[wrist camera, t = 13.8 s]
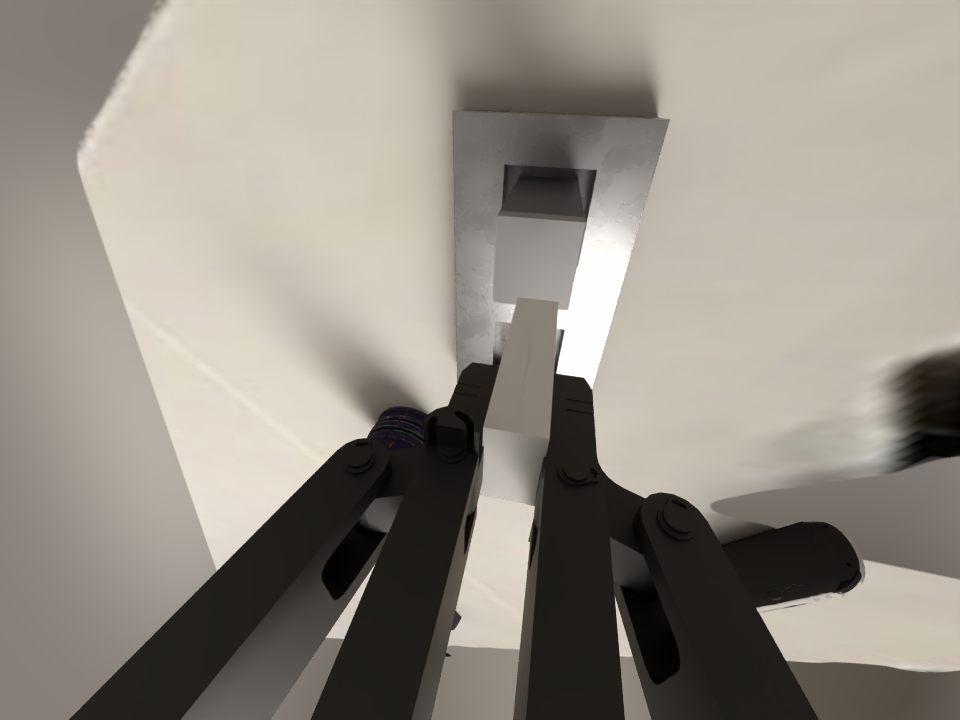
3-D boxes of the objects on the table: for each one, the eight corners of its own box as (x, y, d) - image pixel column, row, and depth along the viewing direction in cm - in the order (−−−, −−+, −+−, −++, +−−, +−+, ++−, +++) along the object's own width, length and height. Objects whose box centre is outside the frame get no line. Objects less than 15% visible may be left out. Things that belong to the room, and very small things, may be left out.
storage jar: (439, 409, 47) (397, 514, 35) (447, 457, 53) (413, 560, 41) (370, 402, 49) (308, 500, 37) (385, 449, 54) (336, 546, 43)
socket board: (658, 117, 25) (669, 119, 22) (583, 391, 40) (584, 413, 38) (464, 109, 27) (452, 111, 24) (464, 374, 42) (457, 393, 40)
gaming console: (688, 551, 55) (699, 560, 56) (702, 615, 48) (715, 624, 48) (825, 507, 44) (839, 517, 45) (871, 580, 37) (886, 592, 37)
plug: (578, 179, 27) (585, 222, 18) (566, 243, 30) (568, 310, 21) (520, 175, 28) (496, 215, 18) (514, 239, 31) (492, 302, 21)
